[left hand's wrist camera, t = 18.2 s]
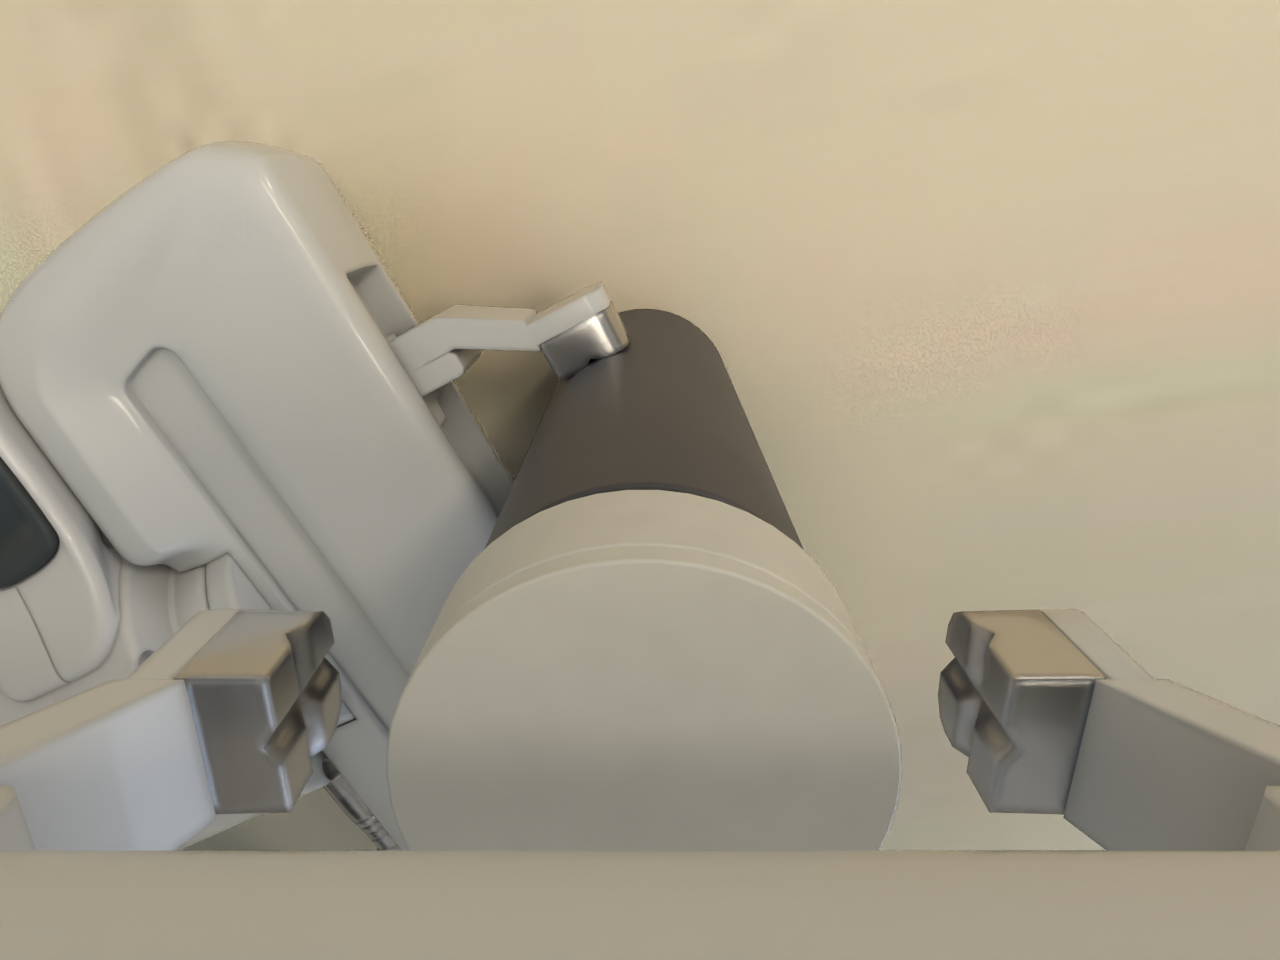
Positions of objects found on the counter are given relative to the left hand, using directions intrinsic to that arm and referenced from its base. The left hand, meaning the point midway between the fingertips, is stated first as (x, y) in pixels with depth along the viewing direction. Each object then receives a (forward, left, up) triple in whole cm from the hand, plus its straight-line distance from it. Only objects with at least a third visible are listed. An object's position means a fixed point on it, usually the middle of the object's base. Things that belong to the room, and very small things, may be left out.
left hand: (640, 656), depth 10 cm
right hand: (0, +1, -10) cm, 10 cm away
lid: (0, 0, +2) cm, 2 cm away
